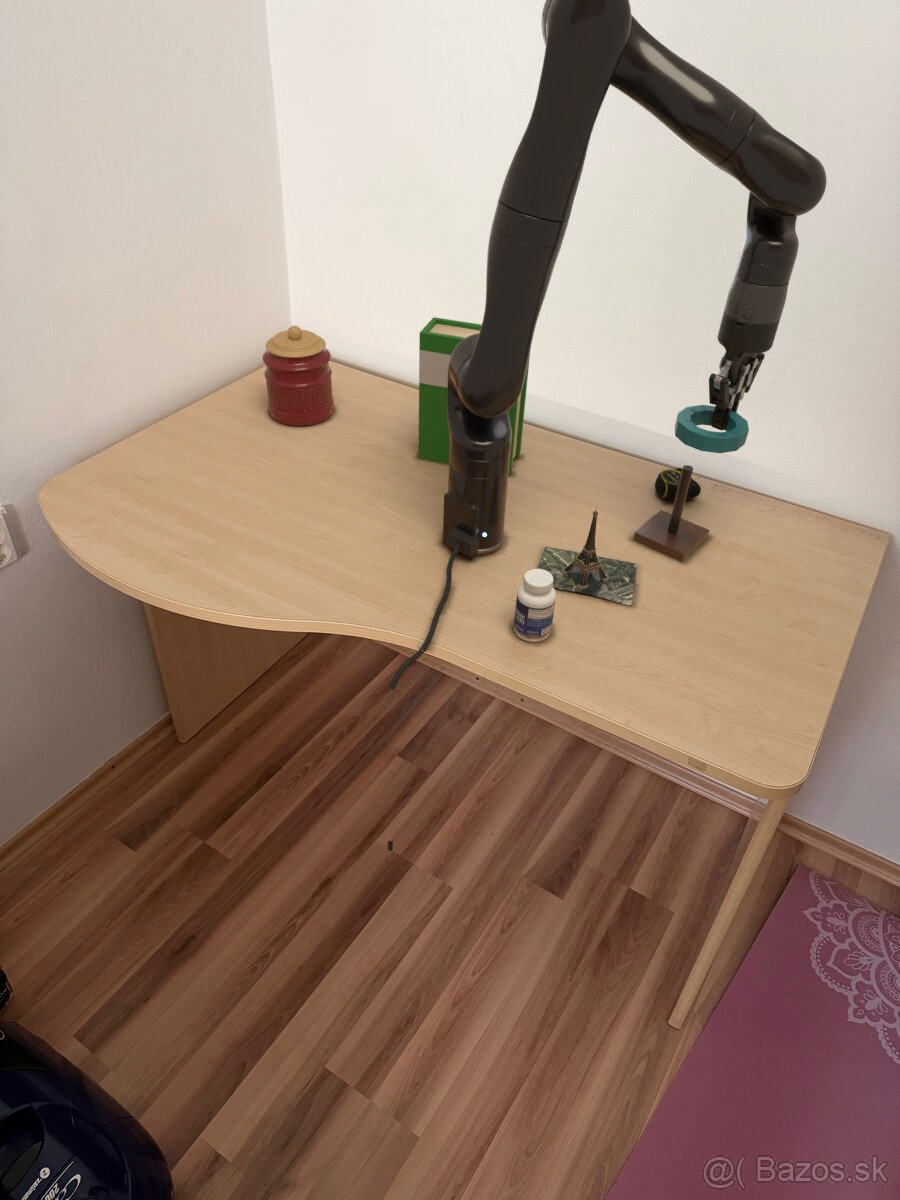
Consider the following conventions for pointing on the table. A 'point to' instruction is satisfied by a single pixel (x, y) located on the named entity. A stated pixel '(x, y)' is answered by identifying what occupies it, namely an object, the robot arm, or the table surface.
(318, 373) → the kitchen canister
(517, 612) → the pill bottle
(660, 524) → the stand
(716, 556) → the table surface
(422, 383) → the hardback book
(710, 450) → the ring
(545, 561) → the eiffel tower figurine
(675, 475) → the tape measure
